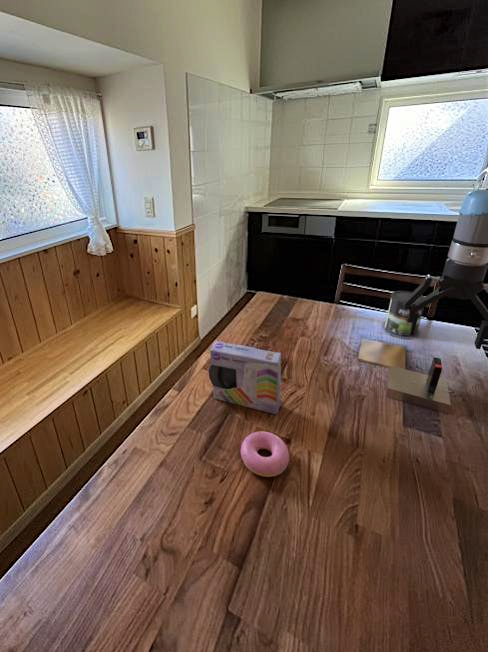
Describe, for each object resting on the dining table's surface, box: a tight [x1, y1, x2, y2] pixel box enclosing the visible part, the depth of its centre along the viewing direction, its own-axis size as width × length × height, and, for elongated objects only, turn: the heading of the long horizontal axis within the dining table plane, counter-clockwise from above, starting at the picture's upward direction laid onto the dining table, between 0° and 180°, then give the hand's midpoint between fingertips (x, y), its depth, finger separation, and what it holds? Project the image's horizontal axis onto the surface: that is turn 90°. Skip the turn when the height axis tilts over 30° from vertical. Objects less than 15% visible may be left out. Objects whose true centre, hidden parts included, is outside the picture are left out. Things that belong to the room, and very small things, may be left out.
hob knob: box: [427, 356, 443, 393], centre depth 90 cm, size 5×2×8 cm, turn 149°
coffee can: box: [384, 290, 425, 340], centre depth 119 cm, size 10×10×14 cm
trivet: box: [357, 337, 406, 369], centre depth 110 cm, size 13×13×1 cm
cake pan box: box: [208, 340, 282, 415], centre depth 91 cm, size 19×5×18 cm, turn 65°
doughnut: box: [240, 430, 290, 478], centre depth 77 cm, size 11×11×4 cm
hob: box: [385, 366, 452, 415], centre depth 93 cm, size 15×11×3 cm
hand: (442, 339), depth 85 cm, fingers open, 13 cm apart
